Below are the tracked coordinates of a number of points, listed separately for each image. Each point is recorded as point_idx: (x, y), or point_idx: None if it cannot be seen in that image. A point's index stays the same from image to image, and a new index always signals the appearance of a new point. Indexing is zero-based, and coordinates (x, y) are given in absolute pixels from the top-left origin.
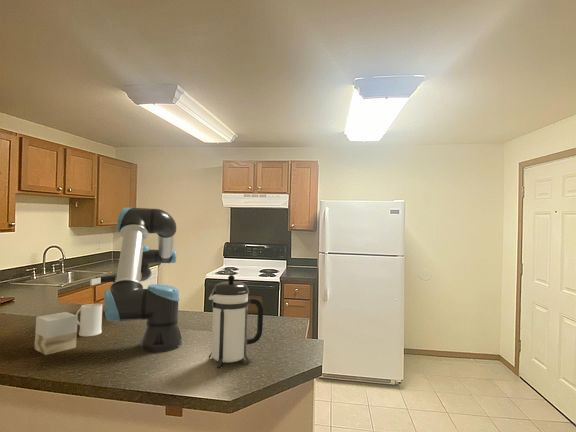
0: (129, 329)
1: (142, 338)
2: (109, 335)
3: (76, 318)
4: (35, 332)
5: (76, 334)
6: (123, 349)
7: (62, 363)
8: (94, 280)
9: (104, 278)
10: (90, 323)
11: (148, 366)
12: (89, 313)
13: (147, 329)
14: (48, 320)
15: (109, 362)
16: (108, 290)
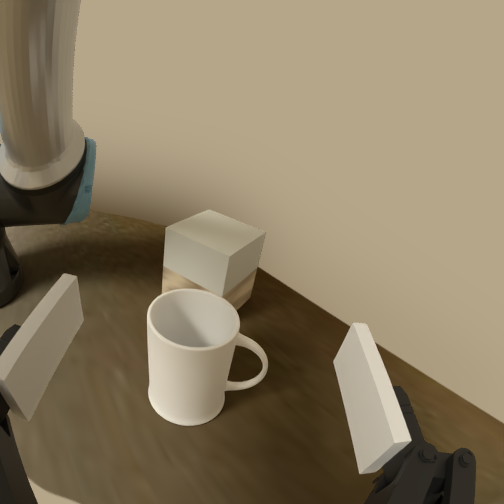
0: (57, 428)
1: (17, 258)
2: (109, 371)
3: (167, 232)
4: (257, 265)
5: (163, 271)
6: (55, 279)
7: (146, 246)
8: (358, 363)
9: (382, 499)
10: (173, 339)
11: (23, 229)
12: (179, 308)
13: (6, 235)
14: (211, 211)
15: (74, 242)
16: (86, 137)
